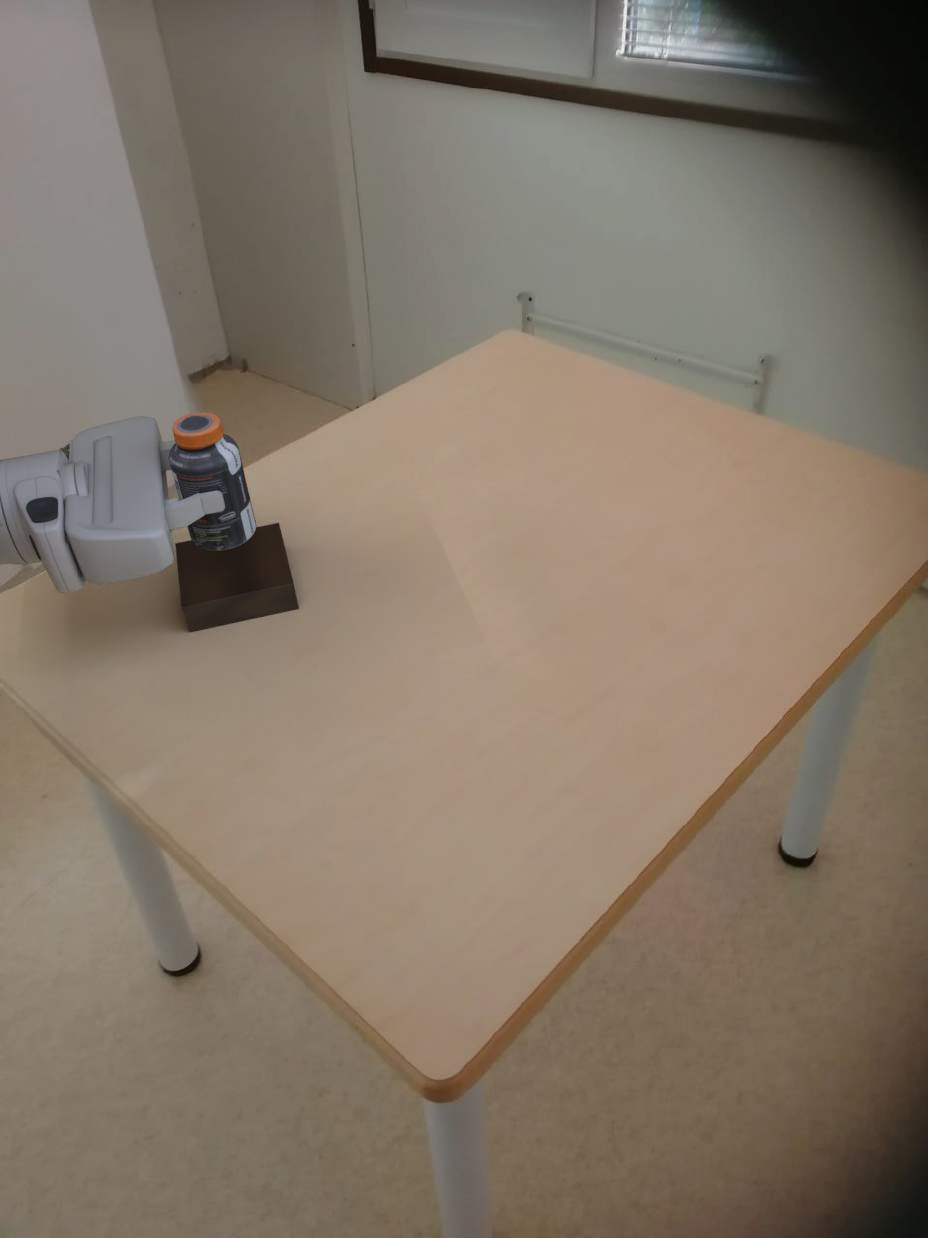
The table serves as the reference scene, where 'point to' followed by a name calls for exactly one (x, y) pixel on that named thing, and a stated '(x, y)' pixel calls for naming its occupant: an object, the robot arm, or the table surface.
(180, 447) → the pill bottle
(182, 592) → the walnut stand
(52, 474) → the robot arm
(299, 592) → the table surface
